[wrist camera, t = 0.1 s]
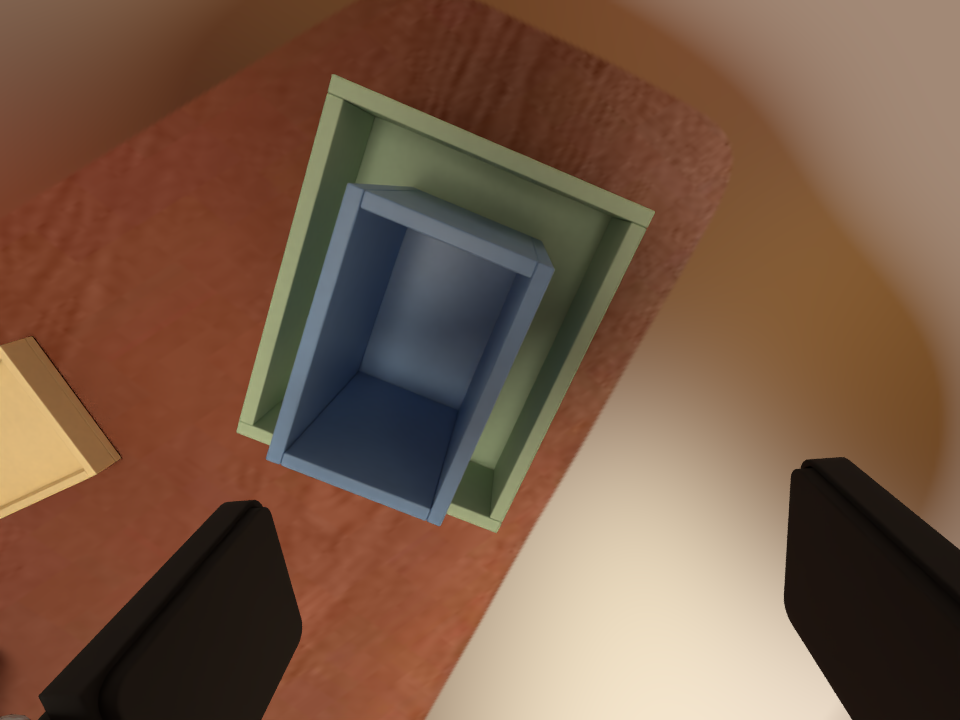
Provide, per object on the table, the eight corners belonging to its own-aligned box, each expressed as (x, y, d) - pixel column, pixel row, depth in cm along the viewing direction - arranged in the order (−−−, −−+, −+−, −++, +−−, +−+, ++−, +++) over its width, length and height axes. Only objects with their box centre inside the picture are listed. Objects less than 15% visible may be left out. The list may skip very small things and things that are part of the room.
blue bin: (411, 186, 22) (347, 182, 14) (542, 241, 22) (555, 269, 14) (348, 372, 25) (264, 459, 16) (466, 418, 25) (440, 527, 17)
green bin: (389, 110, 25) (331, 73, 17) (614, 206, 25) (655, 211, 18) (309, 369, 29) (235, 432, 21) (502, 446, 30) (496, 534, 22)
